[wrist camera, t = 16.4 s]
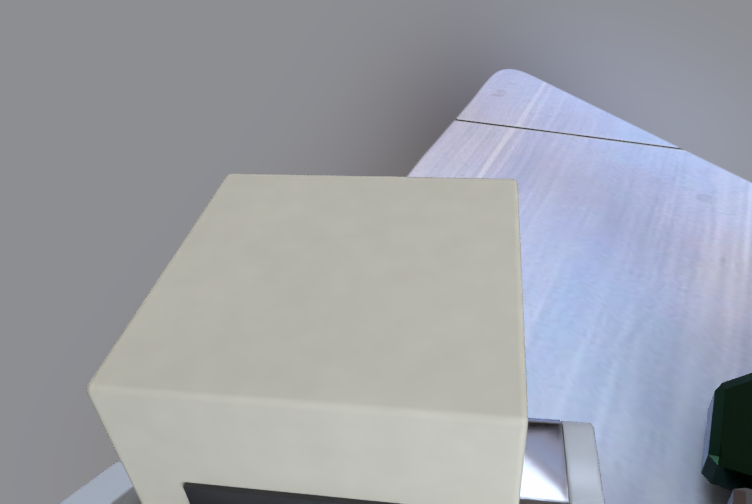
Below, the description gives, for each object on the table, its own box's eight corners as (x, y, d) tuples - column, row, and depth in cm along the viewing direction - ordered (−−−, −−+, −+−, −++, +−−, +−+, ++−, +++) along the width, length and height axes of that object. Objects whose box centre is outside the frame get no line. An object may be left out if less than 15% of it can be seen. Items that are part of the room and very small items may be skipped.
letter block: (247, 730, 13) (77, 393, 7) (305, 509, 17) (226, 171, 11) (490, 770, 12) (528, 428, 6) (492, 529, 16) (518, 176, 10)
